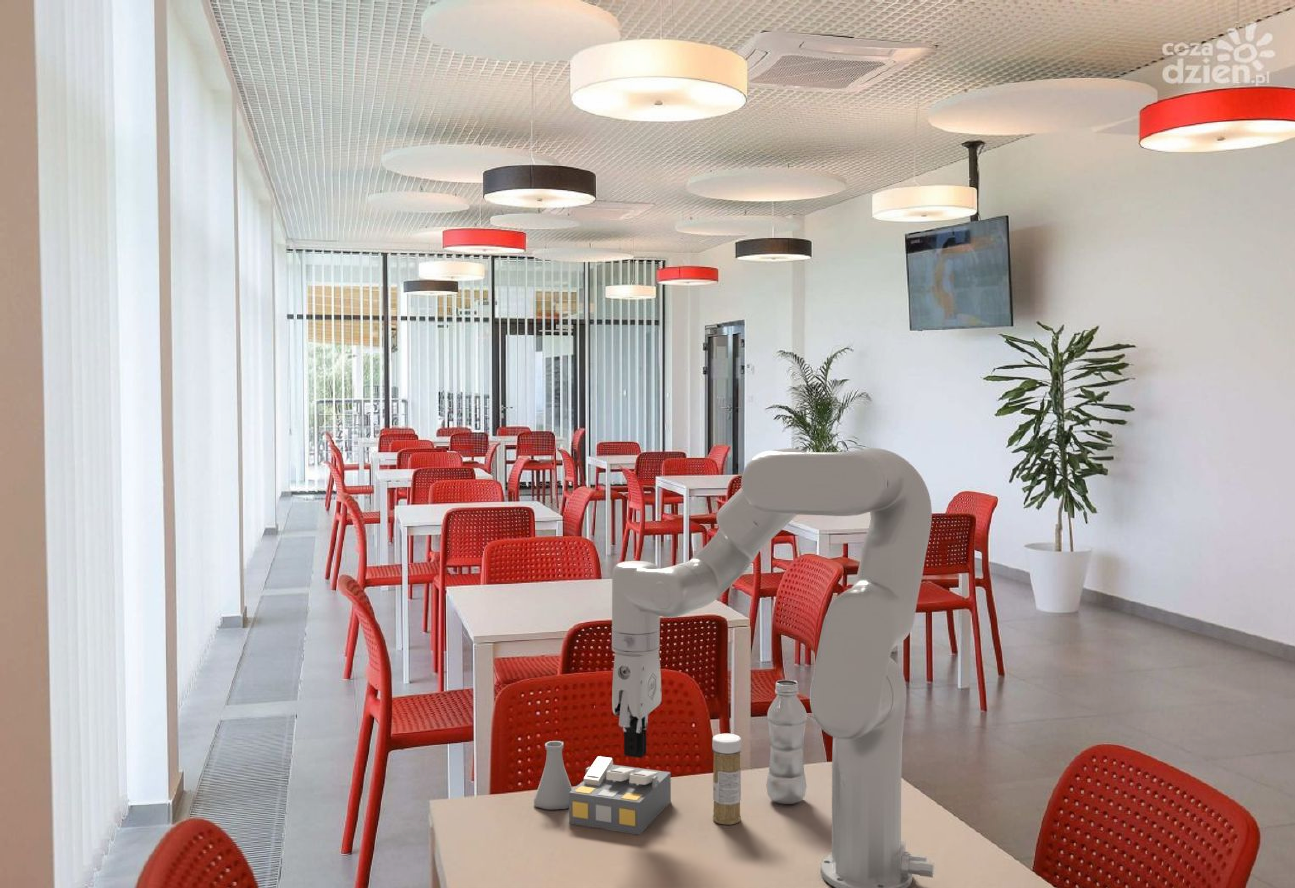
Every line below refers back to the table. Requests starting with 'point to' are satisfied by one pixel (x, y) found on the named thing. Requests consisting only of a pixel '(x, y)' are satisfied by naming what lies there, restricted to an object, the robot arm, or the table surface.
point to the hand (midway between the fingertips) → (635, 755)
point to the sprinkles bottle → (726, 778)
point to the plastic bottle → (786, 745)
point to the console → (620, 802)
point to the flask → (553, 780)
